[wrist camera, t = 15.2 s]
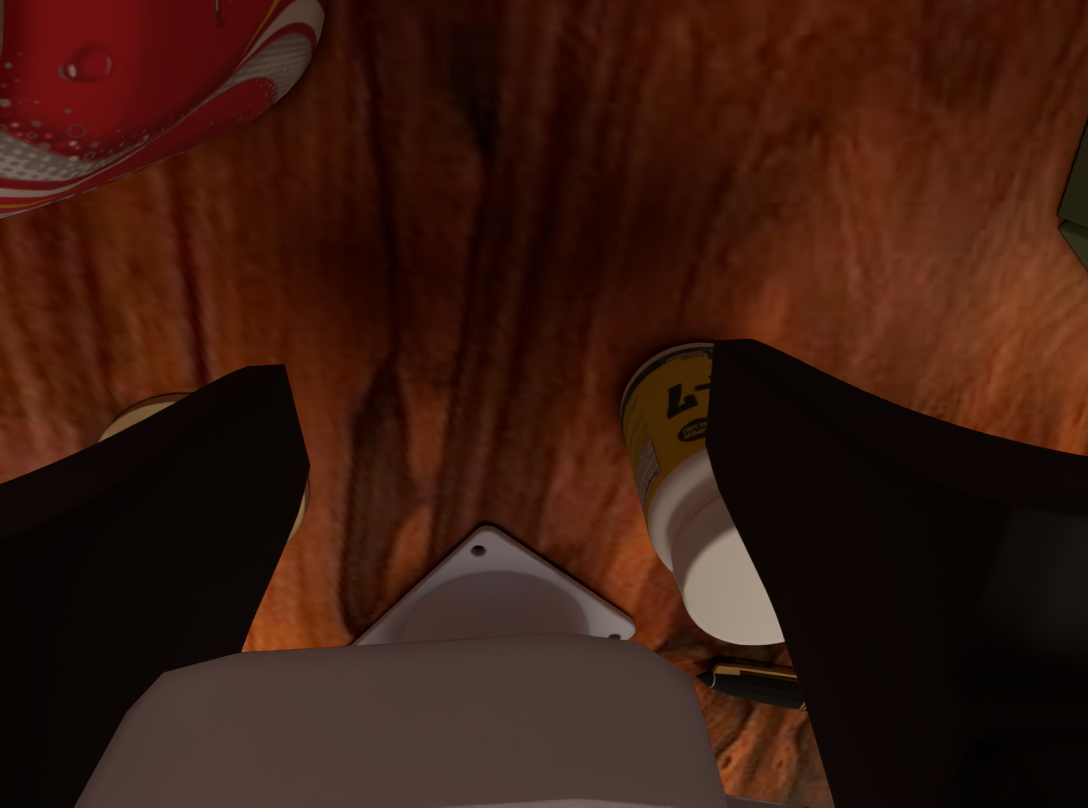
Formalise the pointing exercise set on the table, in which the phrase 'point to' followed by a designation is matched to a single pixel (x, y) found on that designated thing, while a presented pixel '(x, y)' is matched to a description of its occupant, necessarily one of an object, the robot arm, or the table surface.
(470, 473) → the table surface
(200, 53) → the soda can
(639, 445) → the supplement bottle
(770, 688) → the fountain pen
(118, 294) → the table surface
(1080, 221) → the ring
